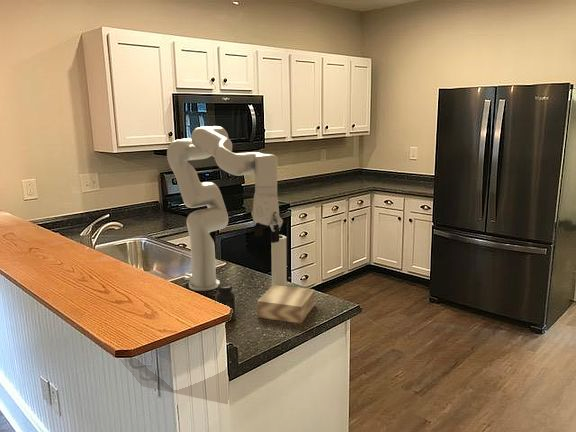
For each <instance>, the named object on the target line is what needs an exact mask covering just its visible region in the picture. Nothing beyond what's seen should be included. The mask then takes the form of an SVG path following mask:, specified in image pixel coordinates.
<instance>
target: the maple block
mask: <svg viewBox="0 0 576 432" xmlns="http://www.w3.org/2000/svg"><path fill="white" fill-rule="evenodd" d="M256 302H257V304H256V305H257V307H256V308H257V309H256V310H257V311H256V312H257V313H256V315H257V318H261V319H267V320H275V321H280V322H289V323H295V324H303V322H304V321H305V319H306V318H307V317H308V315H309V314H310V312H311V311H312V309H313V308H314V306H315V289H313V288H311V289H310V288H303V287H295V286H288V285H287V286H279V285H273V286H272V285H271V286H270V288H269V289H267V290H266V291H265V292H264V293H263V295H262V296H260V298H259V299H258V300H257V301H256Z"/></svg>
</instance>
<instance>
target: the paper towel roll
mask: <svg viewBox="0 0 576 432" xmlns="http://www.w3.org/2000/svg"><path fill="white" fill-rule="evenodd" d="M270 244H271V245H270V246H271V251H270V254H271V287H272V286H273V285H279V286H287V287H288V285H287V283H288V282H287V281H288V280H287V279H288V278H287V275H288V274H287V268H288V267H287V236H285V235H283V234H280V233H279V242H275V243H271V242H270Z"/></svg>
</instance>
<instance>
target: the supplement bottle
mask: <svg viewBox="0 0 576 432" xmlns="http://www.w3.org/2000/svg"><path fill="white" fill-rule="evenodd" d="M214 299H215V300H214V301H215V302H216V301H217V302H219V303H222V304H224V305H227V306H229V307H230V308H232V309H233V313H232V317H231V320H230V321H229V322H232V321H234V320H235V319H236V318H237V303H236V302H237V301H236V293H235V292H234V291H233V285H232V284H231V283H228V282H223V283H220V284H219V285H218V287H217V292H216V293H215V297H214Z"/></svg>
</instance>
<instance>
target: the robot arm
mask: <svg viewBox="0 0 576 432" xmlns="http://www.w3.org/2000/svg"><path fill="white" fill-rule="evenodd" d="M210 157H213V158H214V161H215V163H216V165H217V167H218V168H219V169H221V170H222V171H224V172H225V173H228V174H230V175H232V176H236V177H237V176H238V177H239V176H245V175H254V187H255V188H254V195H253V202H252V210H251V213H250V214H251V219H252V222H253V226H254V237H255V238H257V237H263V236H264V226H269V227H270V229H271V231H270V244H271V243H275V242H279V234H280V231H281V228H282V226H283V222H284V220H283V219H282V217H281V216H280V208H279V207H280V205H279V199H278V158H277V156H276V155H275V154H274V153H273V154H272V153H262V152H258V151H249V152H239V153H235V152H233V142H232V141H231V140H230V138H229V134H228V132H227V130H225V128H224V127H222V126H219V125H213V126H211V125H210V126H200V127H196V128H195V129H194V130H193V131H192V132H191V134H190V138H181V139H176V140H174V141H172V142H170V144H169V145H168V147H167V150H166V159H167V162H168V165H169V167H170V169H171V171H172V172H173V174H174V176H175V179H176V182H177V186H178V189H179V192H180V195H181V198H182V201H183V203H184V205H185V207H187V208H190V209H194V208H195V209H196V208H200V207H201V208H202V207H205V206H206V207H207V208H203V209H197V210H194V211H192V212H191V213H189V214H188V215H187V217H186V227H187V231H188V236H189V242H190V243H189V245H190V259H191V260H190V261H191V273H185V274H184V280H185V281H186V280H188V281H189V283H188V288H189V289H190V290H192V291H197V292H206V291H211V290H213V291H214V290H215V289H218V285H219V284H221V282H220V280H219V279H217V271H216V268H217V267H216V250H215V249H216V248H215V247H216V246H215V241H214V239H213V238H212V236H211V234H210V233H212V232H216V231H218V230H222V229H225V228H226V227H227V226H228V223H229V215H228V211H227V208H226V204H225V202H224V199H223V194H222V193H221V190H220V188H219V186H218V185H217V184H216V183H215V182H212V181H204V182H201V181H200V178H199V175H198V172H197V170H196V169H195V168H194V167H193V165H191V164H190V163H189V162H188V161H198V160H205V159H208V158H210Z"/></svg>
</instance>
